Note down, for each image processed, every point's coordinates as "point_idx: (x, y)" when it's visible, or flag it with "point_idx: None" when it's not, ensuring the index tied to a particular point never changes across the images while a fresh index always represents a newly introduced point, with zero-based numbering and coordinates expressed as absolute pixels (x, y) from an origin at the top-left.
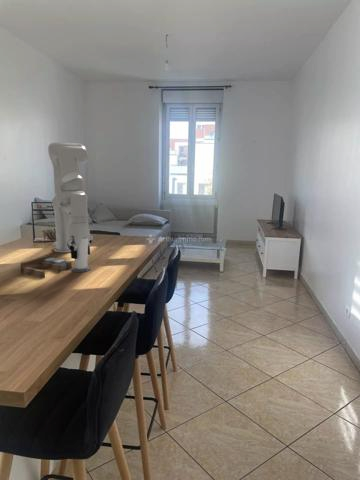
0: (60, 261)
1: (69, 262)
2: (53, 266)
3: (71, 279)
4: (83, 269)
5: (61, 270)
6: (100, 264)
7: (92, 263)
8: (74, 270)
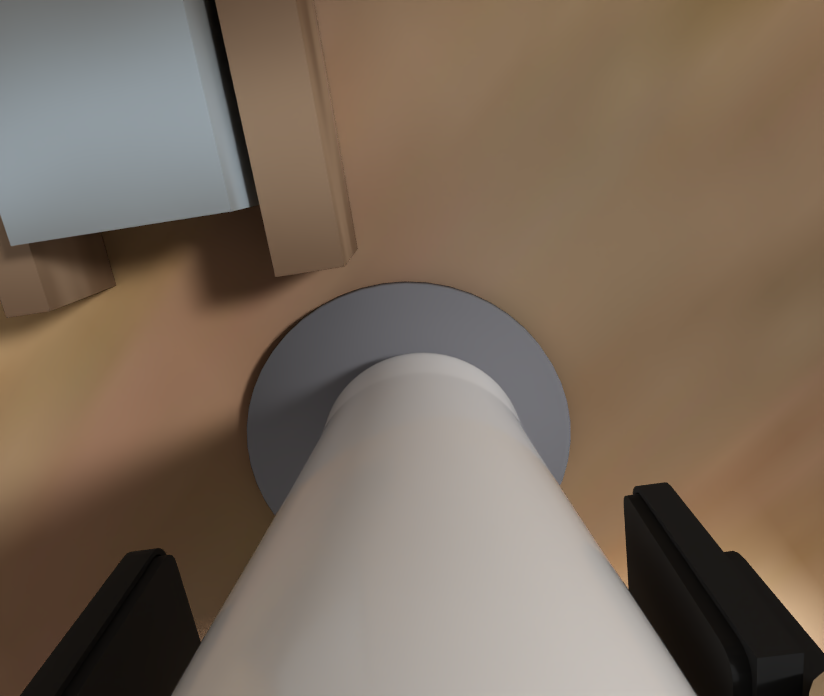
0: (70, 194)
1: (285, 274)
2: None
3: (33, 668)
4: None
5: (101, 290)
6: (804, 463)
7: (785, 315)
8: (264, 445)
